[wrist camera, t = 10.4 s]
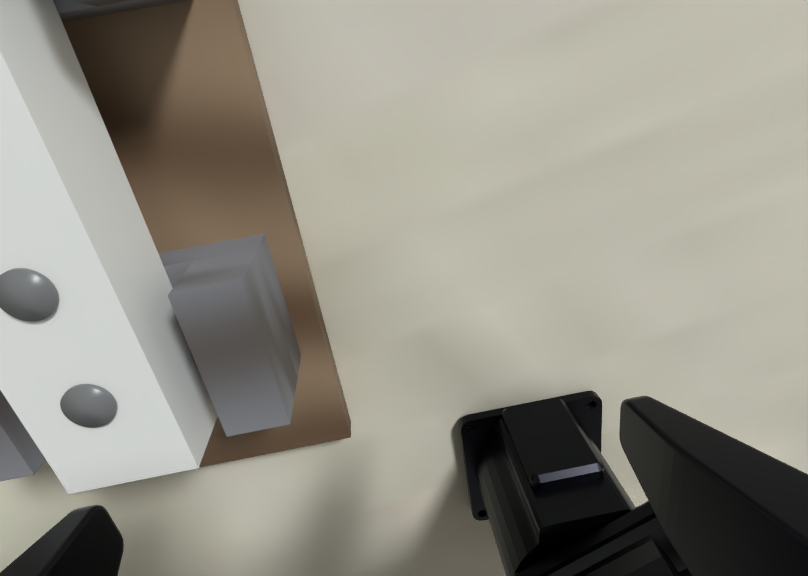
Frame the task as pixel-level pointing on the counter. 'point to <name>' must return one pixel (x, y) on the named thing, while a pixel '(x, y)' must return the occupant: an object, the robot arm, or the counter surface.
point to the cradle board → (209, 221)
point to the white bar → (83, 280)
